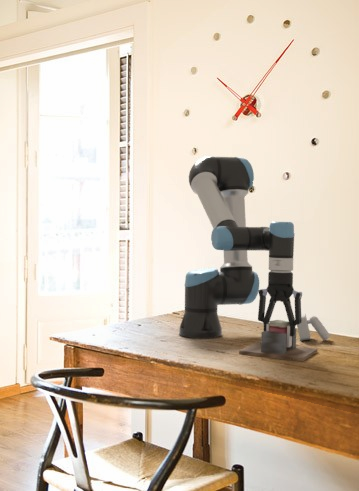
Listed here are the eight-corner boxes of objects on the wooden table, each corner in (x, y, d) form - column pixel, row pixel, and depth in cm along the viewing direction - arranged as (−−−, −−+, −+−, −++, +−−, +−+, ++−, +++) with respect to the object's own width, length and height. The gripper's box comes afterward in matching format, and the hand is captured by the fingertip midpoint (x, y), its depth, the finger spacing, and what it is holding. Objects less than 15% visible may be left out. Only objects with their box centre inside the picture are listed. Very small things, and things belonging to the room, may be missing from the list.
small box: (268, 345, 199) (268, 320, 199) (277, 344, 202) (277, 319, 202) (280, 348, 195) (280, 322, 195) (289, 346, 198) (290, 321, 198)
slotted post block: (239, 353, 196) (239, 331, 196) (257, 344, 210) (258, 323, 210) (302, 361, 187) (302, 337, 187) (317, 351, 201) (318, 329, 201)
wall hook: (331, 341, 216) (325, 312, 216) (301, 346, 218) (295, 318, 218) (331, 337, 224) (325, 309, 224) (301, 342, 226) (295, 314, 226)
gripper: (247, 270, 199) (245, 343, 200) (307, 274, 190) (305, 350, 191) (256, 268, 205) (254, 340, 206) (314, 272, 196) (312, 346, 198)
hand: (278, 345), depth 199 cm, fingers closed on small box, 6 cm apart
